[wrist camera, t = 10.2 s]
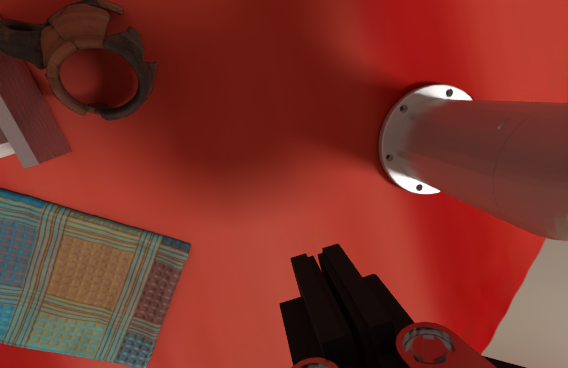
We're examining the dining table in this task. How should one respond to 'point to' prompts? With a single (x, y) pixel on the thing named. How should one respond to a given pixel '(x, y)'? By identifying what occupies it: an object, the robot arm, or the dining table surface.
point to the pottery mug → (75, 36)
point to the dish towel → (83, 282)
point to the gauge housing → (5, 146)
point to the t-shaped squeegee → (27, 115)
